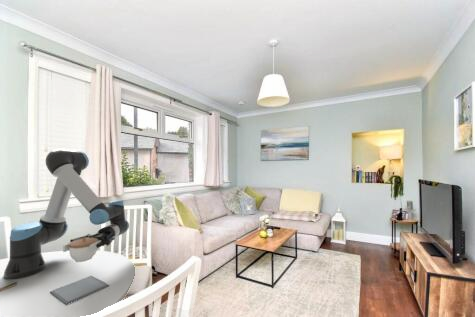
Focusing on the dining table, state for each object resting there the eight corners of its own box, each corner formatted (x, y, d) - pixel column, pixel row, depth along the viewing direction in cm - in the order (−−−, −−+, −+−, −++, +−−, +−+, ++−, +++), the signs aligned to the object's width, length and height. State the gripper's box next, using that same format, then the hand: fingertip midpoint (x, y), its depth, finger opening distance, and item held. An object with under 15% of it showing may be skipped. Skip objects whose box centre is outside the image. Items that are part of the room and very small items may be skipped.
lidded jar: (84, 265, 93) (84, 242, 93) (62, 263, 95) (62, 241, 95) (103, 255, 104) (103, 234, 104) (83, 253, 105) (84, 233, 106)
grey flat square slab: (49, 292, 94) (49, 291, 94) (91, 276, 108) (91, 275, 108) (66, 305, 85) (66, 303, 85) (109, 286, 99) (109, 284, 99)
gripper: (130, 240, 117) (104, 257, 95) (86, 240, 118) (50, 257, 95) (130, 225, 117) (104, 239, 95) (86, 226, 118) (50, 239, 96)
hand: (77, 248), depth 95 cm, fingers closed on lidded jar, 11 cm apart
